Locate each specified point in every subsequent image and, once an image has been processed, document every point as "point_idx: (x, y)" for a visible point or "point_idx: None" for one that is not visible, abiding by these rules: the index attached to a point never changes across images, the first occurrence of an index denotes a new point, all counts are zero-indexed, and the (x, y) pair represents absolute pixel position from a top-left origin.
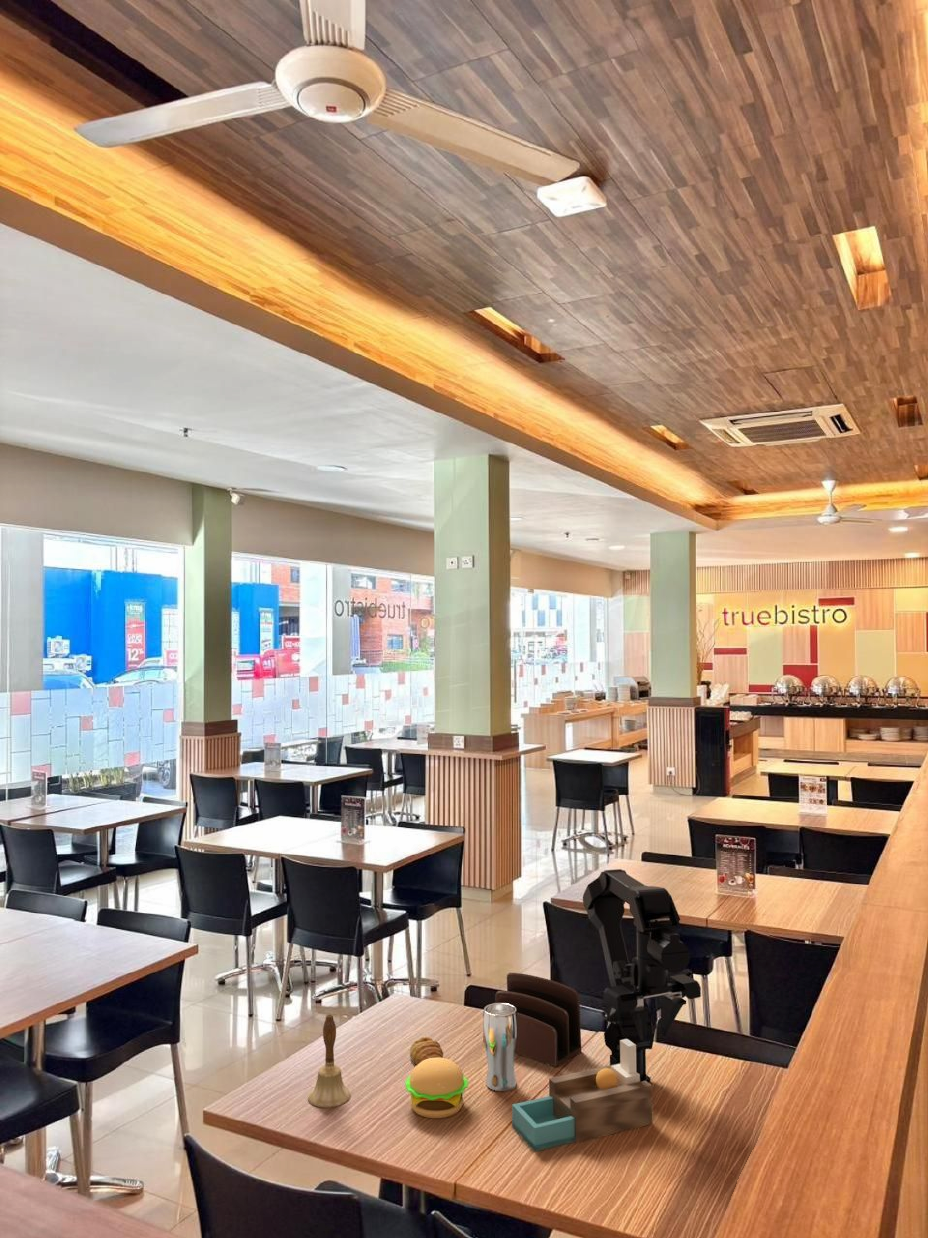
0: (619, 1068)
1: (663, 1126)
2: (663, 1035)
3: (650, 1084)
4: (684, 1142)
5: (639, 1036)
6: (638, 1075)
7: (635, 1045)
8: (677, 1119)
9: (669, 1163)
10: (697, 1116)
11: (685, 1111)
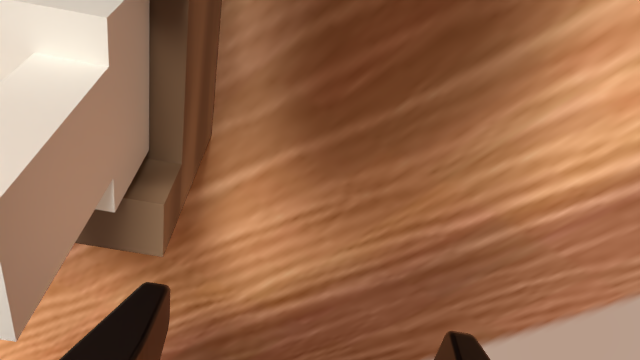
0: (10, 71)
1: (244, 170)
2: (437, 354)
3: (160, 250)
4: (236, 274)
5: (126, 303)
6: (104, 209)
7: (12, 337)
8: (341, 166)
9: (105, 316)
10: (434, 195)
11: (429, 142)
